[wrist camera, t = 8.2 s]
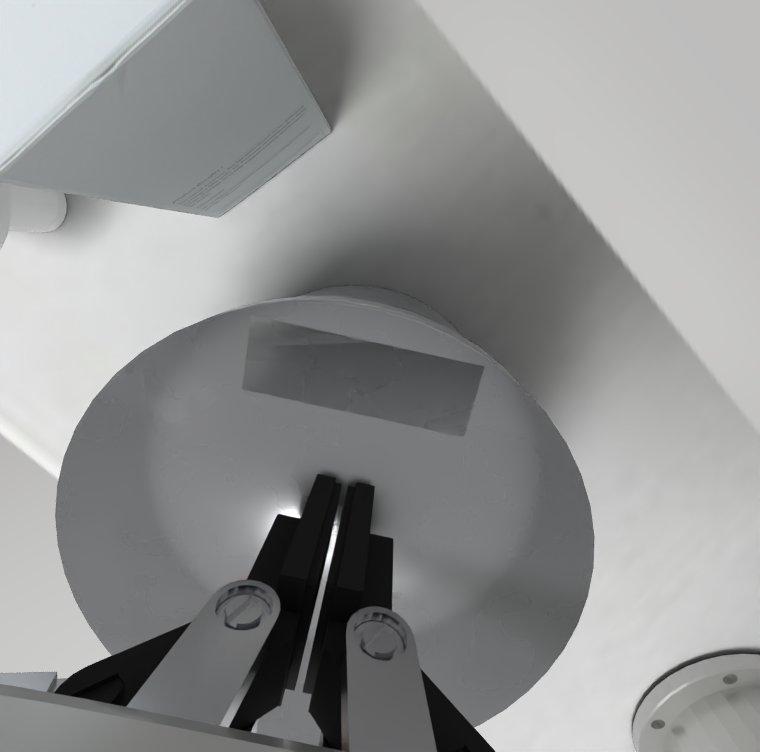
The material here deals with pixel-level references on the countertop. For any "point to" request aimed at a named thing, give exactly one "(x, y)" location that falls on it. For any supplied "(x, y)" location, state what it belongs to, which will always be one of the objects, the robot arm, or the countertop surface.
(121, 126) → the supplement box
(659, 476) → the countertop surface
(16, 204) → the white caged cylinder
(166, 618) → the lid
